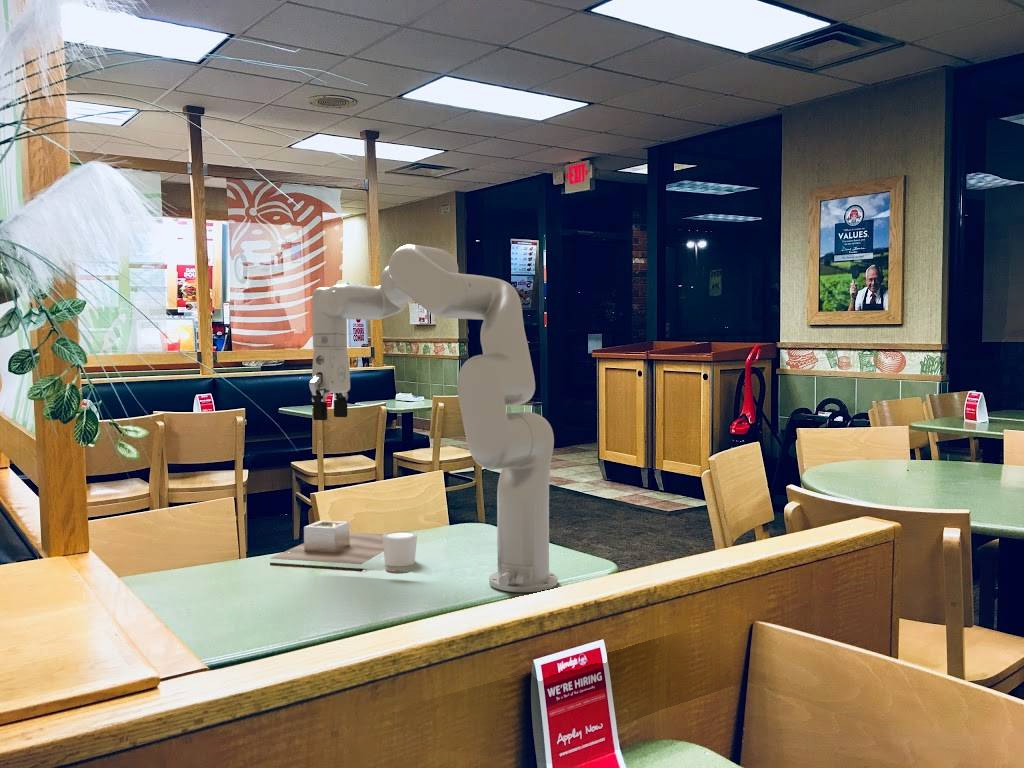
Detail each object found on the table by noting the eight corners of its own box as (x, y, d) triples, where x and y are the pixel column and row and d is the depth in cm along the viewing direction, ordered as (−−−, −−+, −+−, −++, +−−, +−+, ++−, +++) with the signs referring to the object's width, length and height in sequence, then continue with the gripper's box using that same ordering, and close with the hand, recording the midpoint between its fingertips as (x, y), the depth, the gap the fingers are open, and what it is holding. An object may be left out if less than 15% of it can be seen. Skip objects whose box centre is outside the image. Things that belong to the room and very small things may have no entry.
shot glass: (421, 565, 159) (420, 531, 159) (413, 574, 152) (413, 538, 152) (387, 565, 160) (387, 530, 160) (378, 574, 153) (378, 538, 153)
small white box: (334, 552, 164) (334, 528, 164) (304, 550, 166) (303, 526, 166) (349, 544, 171) (349, 521, 171) (320, 543, 173) (319, 520, 173)
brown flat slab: (360, 571, 155) (360, 563, 155) (269, 565, 160) (269, 558, 160) (410, 542, 180) (410, 535, 180) (330, 537, 185) (330, 531, 185)
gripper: (326, 341, 169) (327, 421, 169) (361, 343, 186) (362, 416, 186) (295, 342, 171) (296, 421, 171) (332, 343, 188) (333, 415, 188)
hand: (330, 418), depth 179 cm, fingers open, 9 cm apart
